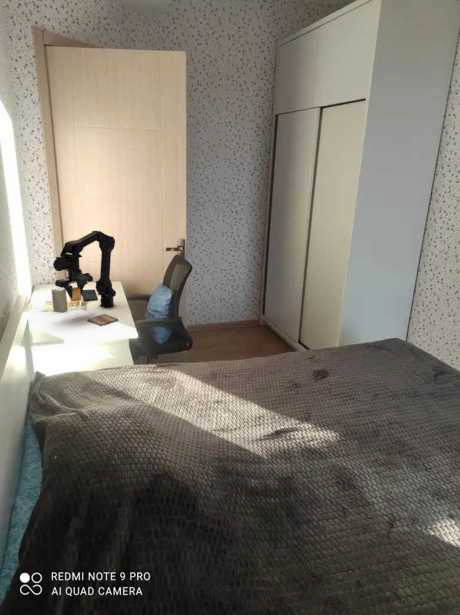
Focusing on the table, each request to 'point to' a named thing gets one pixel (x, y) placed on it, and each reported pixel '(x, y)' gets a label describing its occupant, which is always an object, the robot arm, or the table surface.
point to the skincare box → (59, 299)
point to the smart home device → (89, 295)
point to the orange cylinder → (76, 294)
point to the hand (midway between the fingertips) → (75, 296)
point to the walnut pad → (102, 320)
